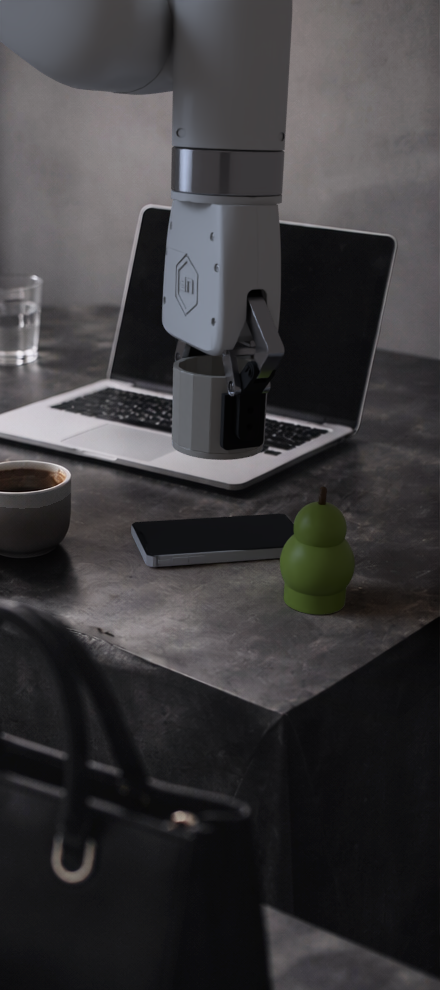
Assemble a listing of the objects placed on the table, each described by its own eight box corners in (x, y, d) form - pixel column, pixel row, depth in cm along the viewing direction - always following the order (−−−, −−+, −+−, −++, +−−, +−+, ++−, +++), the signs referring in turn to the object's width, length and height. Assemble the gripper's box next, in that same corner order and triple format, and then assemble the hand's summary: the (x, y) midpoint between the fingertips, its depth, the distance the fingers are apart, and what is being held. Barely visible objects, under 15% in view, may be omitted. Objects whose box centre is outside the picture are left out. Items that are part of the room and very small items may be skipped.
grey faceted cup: (170, 458, 69) (172, 375, 67) (173, 430, 76) (174, 353, 73) (266, 461, 69) (271, 379, 67) (261, 432, 76) (265, 356, 74)
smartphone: (313, 545, 87) (147, 557, 83) (312, 558, 88) (147, 570, 83) (283, 512, 94) (130, 521, 90) (282, 523, 95) (130, 533, 91)
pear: (279, 616, 77) (288, 499, 73) (275, 582, 82) (282, 472, 79) (356, 619, 77) (367, 501, 73) (345, 585, 82) (356, 474, 79)
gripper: (128, 169, 71) (127, 405, 78) (235, 187, 57) (224, 475, 63) (220, 171, 74) (212, 397, 81) (344, 188, 60) (323, 462, 66)
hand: (217, 430), depth 72 cm, fingers closed on grey faceted cup, 6 cm apart
